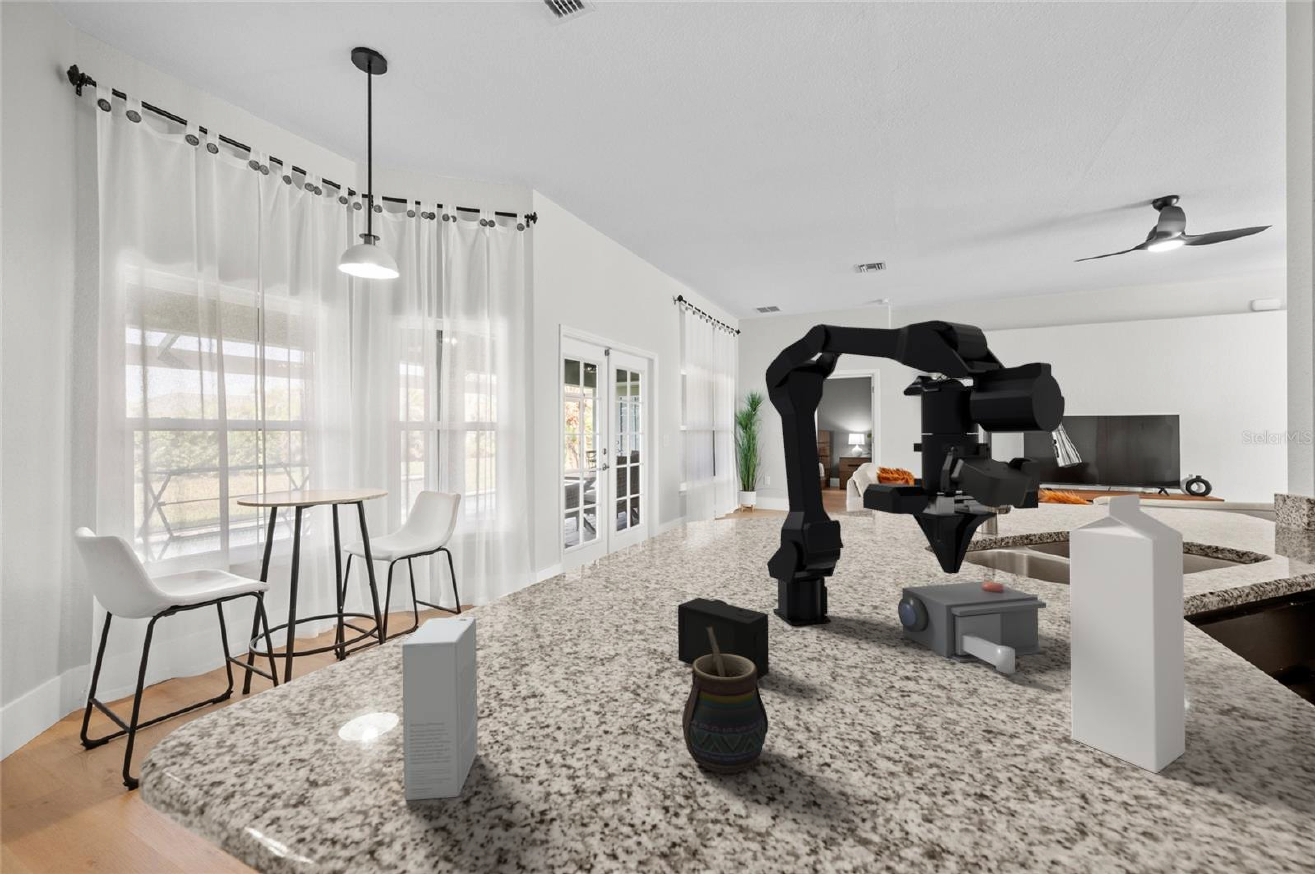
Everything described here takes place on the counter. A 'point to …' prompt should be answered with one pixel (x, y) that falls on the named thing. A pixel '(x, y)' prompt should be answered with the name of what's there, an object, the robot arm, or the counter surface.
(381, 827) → the counter surface
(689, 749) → the mate gourd
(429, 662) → the skincare box
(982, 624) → the side hatch
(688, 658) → the digital camera
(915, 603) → the camera housing
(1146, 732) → the milk
